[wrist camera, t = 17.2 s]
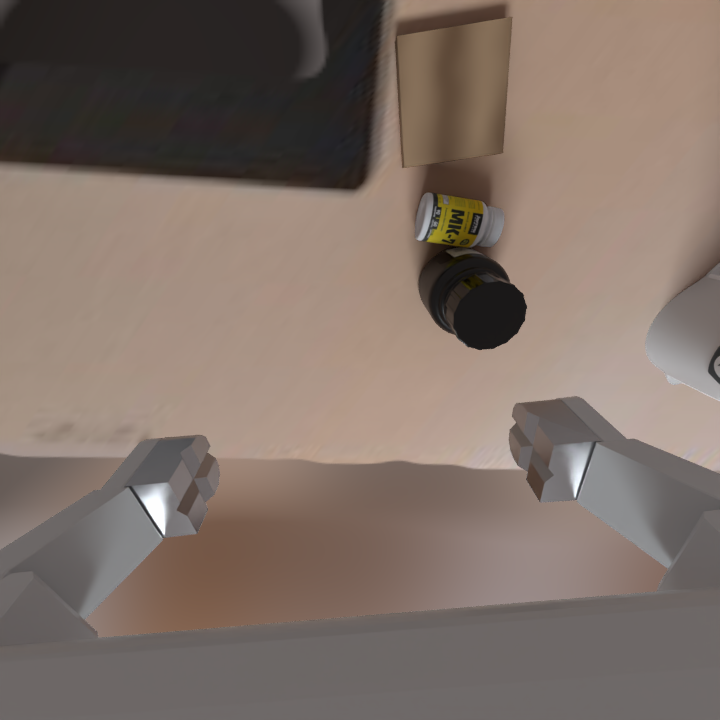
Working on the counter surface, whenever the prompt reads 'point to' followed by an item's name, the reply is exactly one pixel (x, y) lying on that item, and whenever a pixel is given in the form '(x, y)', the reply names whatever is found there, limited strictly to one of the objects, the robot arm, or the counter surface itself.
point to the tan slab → (453, 91)
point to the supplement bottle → (457, 221)
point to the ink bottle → (472, 298)
